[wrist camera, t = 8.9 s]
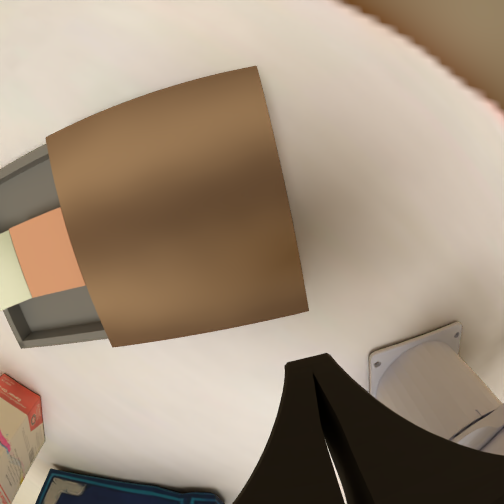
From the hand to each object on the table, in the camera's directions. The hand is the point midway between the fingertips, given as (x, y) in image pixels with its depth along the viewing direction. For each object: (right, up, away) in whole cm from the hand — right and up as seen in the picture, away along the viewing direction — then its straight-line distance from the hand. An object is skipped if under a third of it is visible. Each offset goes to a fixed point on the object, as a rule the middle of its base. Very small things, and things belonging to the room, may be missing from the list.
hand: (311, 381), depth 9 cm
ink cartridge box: (-25, -12, +13) cm, 30 cm away
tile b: (-18, +3, +5) cm, 19 cm away
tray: (-16, +4, +8) cm, 18 cm away
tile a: (-14, +4, +8) cm, 16 cm away
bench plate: (-6, +6, +8) cm, 12 cm away
